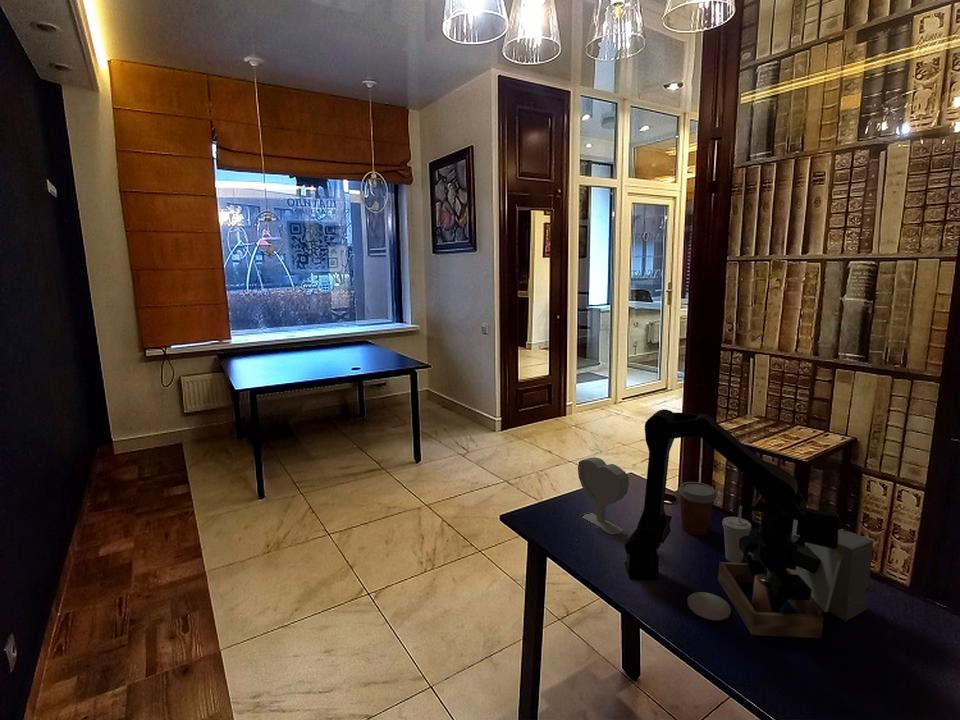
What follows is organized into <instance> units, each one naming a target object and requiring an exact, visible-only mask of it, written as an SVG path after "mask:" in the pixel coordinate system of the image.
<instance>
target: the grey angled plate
mask: <svg viewBox="0 0 960 720" xmlns="http://www.w3.org/2000/svg"><path fill="white" fill-rule="evenodd" d="M797 523H798V520H794V522H793V531H792V536H794V535H796V532H797ZM796 536H799V537H800V535H796ZM805 546H807V547H808V548H809V549H810V550H811V551H812V552H813V553H814V554H815V555H816V556H817V557H818V558H819V559H820V560H821V562H820V565H819V566H818V568H817V570H816V572H815V573H811V572H810V571H808V570H805V569H803V568H800V567H797V566H796V570H790V569H789V568H786V569H787V570H788V571H789V572H790V573H791V574H793V575H799V576H800V577H801V578H802V579H803V580H804V581H805V583H806V584H807V585H808V586H809V587H810V588H811V589H812V592H811V597H812V598H813V600H814V601H815V602H816V603H817V604H818V605H819V606H820V607H821V610H822V612H824V613H829V612H828V608H829V605H830V601H831V597H832V593H833V589H834V585H835V582H836V578H837V574H838V570H839V566H840V562H841V561H842V557H843V556H842V555H841V554H840V553H838V552H837V551H836V550H835V549H831V548H827V547H823V546H819V545H815V544H811V543H807V542H805Z"/></svg>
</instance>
